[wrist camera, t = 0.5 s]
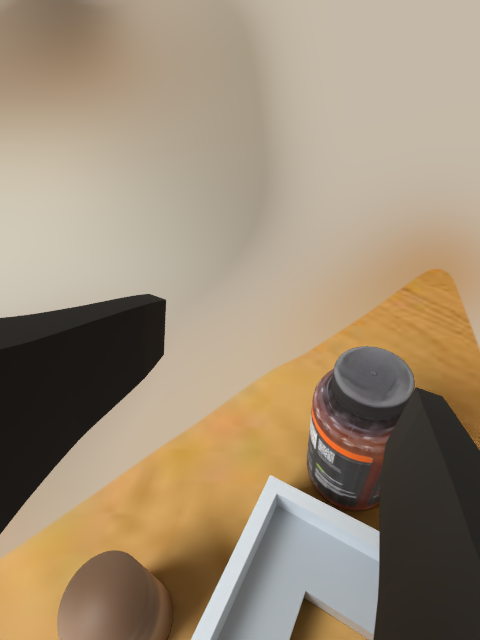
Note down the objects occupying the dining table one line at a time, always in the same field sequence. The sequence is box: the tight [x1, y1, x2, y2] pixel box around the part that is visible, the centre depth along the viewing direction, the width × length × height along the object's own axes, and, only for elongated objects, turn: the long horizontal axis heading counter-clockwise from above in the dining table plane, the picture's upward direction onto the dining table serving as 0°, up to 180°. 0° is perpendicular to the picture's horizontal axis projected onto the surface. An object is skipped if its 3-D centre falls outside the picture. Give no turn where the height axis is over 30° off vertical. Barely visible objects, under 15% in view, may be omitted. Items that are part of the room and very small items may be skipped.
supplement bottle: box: [307, 346, 415, 510], centre depth 21 cm, size 6×6×11 cm
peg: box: [57, 551, 173, 640], centre depth 18 cm, size 4×4×6 cm
